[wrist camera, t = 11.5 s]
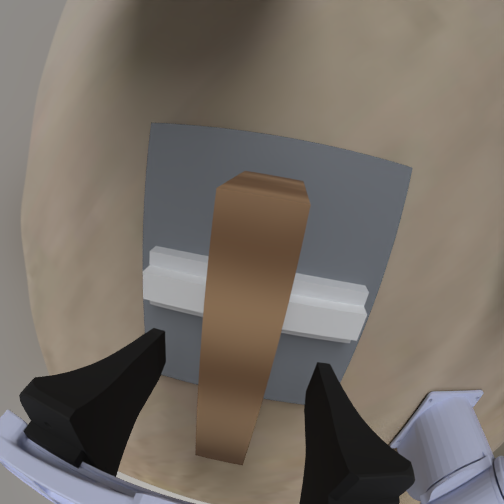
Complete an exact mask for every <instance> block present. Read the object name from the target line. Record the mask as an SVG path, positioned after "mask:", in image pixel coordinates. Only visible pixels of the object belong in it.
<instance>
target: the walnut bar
mask: <svg viewBox="0 0 504 504" xmlns="http://www.w3.org/2000/svg"><path fill="white" fill-rule="evenodd" d="M310 206H311V204H310V201H309V198H308V194H307V191H306V188H305V185H304V182H303V181H300V180H295V179H290V178H285V177H279V176H273V175H268V174H262V173H256V172H250V171H244V172H242V173H240V174H239V175H237V176H235V177H234V178H232V179H230V180H229V181H227V182H225V183H224V184H222V185H220V186H219V187H217V188H216V196H215V204H214V212H213V221H212V229H211V238H210V248H209V257H208V267H207V277H206V288H205V299H204V311H203V323H202V336H201V350H200V366H199V382H198V401H197V424H196V455H198V456H202V457H206V458H210V459H214V460H219V461H224V462H229V463H234V464H239V465H243V462H244V459H245V456H246V453H247V450H248V447H249V444H250V440H251V437H252V434H253V431H254V427H255V424H256V421H257V417H258V414H259V411H260V407H261V404H262V400H263V397H264V394H265V390H266V387H267V383H268V379H269V376H270V372H271V369H272V365H273V361H274V358H275V354H276V350H277V346H278V343H279V339H280V335H281V331H282V327H283V323H284V319H285V315H286V311H287V307H288V303H289V299H290V295H291V291H292V287H293V283H294V278H295V274H296V270H297V265H298V261H299V257H300V252H301V248H302V243H303V239H304V234H305V229H306V225H307V220H308V215H309V210H310Z"/></svg>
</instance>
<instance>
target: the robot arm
mask: <svg viewBox="0 0 504 504" xmlns="http://www.w3.org/2000/svg"><path fill="white" fill-rule="evenodd" d="M165 363H166V343H165V331H163V330H160V329H156V328H153V329H151V330H150V331H148V332H147V333H145V334H144V335H142V336H141V337H139V338H138V339H136V340H135V341H133V342H132V343H130V344H129V345H127V346H125V347H124V348H122V349H121V350H119V351H117V352H116V353H114V354H112V355H110V356H108V357H107V358H105V359H103V360H100V361H98V362H96V363H94V364H91V365H89V366H86V367H83V368H80V369H77V370H74V371H70V372H66V373H62V374H57V375H52V376H45V377H35V378H34V379H33V380H32V381H31V382H30V383H29V384H28V386H26V388H25V389H24V390H23V391H22V392H21V394H20V395H19V396H20V401H21V404H22V406H23V407H24V409H25V411H26V413H27V414H28V416H29V418H30V419H31V422H30V423H29V424H27V423H26V422H25V421H24V420H22V419H21V418H20V417H18V416H17V415H15V414H14V413H13V412H11V411H10V410H6V412H5V413H4V414H3V415H2V416H1V418H0V462H1V463H2V465H3V466H4V467H5V468H7V469H8V470H9V471H10V472H11V473H13V474H14V475H15V476H17V477H18V478H19V479H21V480H22V481H23V482H24V483H26V484H27V485H29V486H30V487H31V488H33V489H34V490H35V491H37V492H38V493H40V494H41V495H43V496H44V497H45V498H47V499H49V500H50V501H51V502H53V503H55V504H194V503H190V502H186V501H183V500H179V499H176V498H172V497H169V496H165V495H162V494H160V493H157V492H154V491H151V490H148V489H145V488H142V487H140V486H137V485H134V484H132V483H129V482H127V481H124V480H122V479H119V478H117V477H116V475H117V471H118V468H119V465H120V461H121V458H122V455H123V453H124V450H125V447H126V444H127V441H128V439H129V436H130V434H131V431H132V429H133V426H134V424H135V421H136V419H137V417H138V415H139V413H140V411H141V409H142V408H143V406H144V404H145V403H146V401H147V399H148V397H149V396H150V394H151V392H152V391H153V389H154V387H155V385H156V384H157V382H158V380H159V378H160V376H161V373H162V371H163V368H164V366H165ZM482 395H483V391H482V390H468V391H433V392H430V393H429V394H428V395H427V397H426V398H425V400H424V401H423V402H422V404H421V405H420V407H419V408H418V409H417V411H416V412H415V413H414V415H413V416H412V417H411V419H410V420H409V421H408V423H407V424H406V425H405V427H404V428H403V429H402V430H401V432H400V433H399V434H398V435H397V437H396V438H395V439H394V440H393V441H392V443H391V444H390V446H389V445H387V444H386V443H385V442H384V441H383V440H382V439H381V438H380V437H379V436H378V435H377V434H376V433H375V432H374V431H373V430H372V429H371V428H370V427H369V426H368V425H367V424H366V422H365V421H364V420H363V419H362V417H361V416H360V415H359V413H358V412H357V411H356V409H355V408H354V406H353V405H352V403H351V401H350V400H349V398H348V396H347V395H346V393H345V391H344V390H343V388H342V386H341V384H340V382H339V380H338V378H337V376H336V375H335V373H334V370H333V368H332V366H331V365H330V364H328V363H320V362H317V364H316V367H315V369H314V372H313V374H312V377H311V380H310V382H309V385H308V387H307V390H306V395H305V408H304V414H305V437H306V458H305V468H304V477H303V485H302V492H301V498H300V504H399V502H400V501H399V496H400V495H401V494H403V493H404V492H405V491H407V492H408V494H409V495H410V496H411V497H412V498H414V499H415V500H418V501H421V503H420V504H504V457H503V456H499V457H497V458H494V456H493V454H492V451H491V449H490V446H489V444H488V441H487V439H486V437H485V434H484V432H483V430H482V428H481V425H480V423H479V421H478V419H477V416H476V414H475V412H474V410H473V407H474V405H475V404H476V403H477V402H478V400H479V399H480V398H481V396H482ZM392 448H397V451H398V453H397V452H396V451H395V450H393V449H392Z"/></svg>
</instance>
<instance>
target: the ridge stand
mask: <svg viewBox="0 0 504 504" xmlns="http://www.w3.org/2000/svg"><path fill="white" fill-rule="evenodd" d="M244 171H250V172H256V173H262V174H268V175H273V176H279V177H285V178H290V179H295V180H300V181H303V182H304V185H305V188H306V191H307V194H308V198H309V201H310V204H311V206H310V210H309V215H308V220H307V225H306V229H305V234H304V239H303V243H302V248H301V252H300V257H299V261H298V265H297V270H296V274H295V278H294V283H293V287H292V291H291V295H290V299H289V303H288V307H287V311H286V315H285V319H284V323H283V327H282V331H281V335H280V339H279V343H278V346H277V350H276V354H275V358H274V361H273V365H272V369H271V372H270V376H269V379H268V383H267V387H266V390H265V394H264V397H263V399H269V400H276V401H282V402H289V403H296V404H304V405H305V395H306V390H307V387H308V385H309V382H310V380H311V377H312V374H313V372H314V369H315V367H316V364H317V362H320V363H328V364H330V365H331V366H332V368H333V370H334V373H335V375H336V376H337V378H338V380H339V382H341V380H342V378H343V376H344V373H345V371H346V369H347V367H348V365H349V362H350V360H351V358H352V356H353V353H354V351H355V349H356V346H357V344H358V342H359V339H360V337H361V335H362V332H363V330H364V327H365V325H366V322H367V320H368V317H369V314H370V312H371V309H372V306H373V304H374V301H375V298H376V296H377V293H378V290H379V287H380V284H381V281H382V278H383V275H384V272H385V269H386V266H387V263H388V260H389V257H390V254H391V250H392V247H393V244H394V240H395V237H396V233H397V230H398V226H399V223H400V219H401V215H402V211H403V207H404V203H405V199H406V195H407V191H408V186H409V182H410V177H411V173H412V167H408V166H405V165H402V164H398V163H395V162H392V161H388V160H384V159H381V158H377V157H373V156H370V155H366V154H362V153H358V152H354V151H350V150H346V149H341V148H337V147H333V146H328V145H323V144H319V143H314V142H309V141H304V140H298V139H293V138H287V137H282V136H276V135H269V134H263V133H256V132H249V131H242V130H234V129H226V128H217V127H207V126H196V125H183V124H168V123H151V129H150V138H149V147H148V158H147V169H146V182H145V198H144V219H143V303H144V325H145V333H147V332H148V331H150V330H151V329H153V328H156V329H160V330H163V331H165V343H166V363H165V366H164V368H163V371H162V373H161V375H164V376H168V377H171V378H175V379H178V380H182V381H186V382H190V383H193V384H197V385H198V382H199V366H200V350H201V336H202V323H203V311H204V299H205V288H206V277H207V267H208V257H209V248H210V238H211V229H212V221H213V212H214V204H215V196H216V188H217V187H219V186H220V185H222V184H224V183H225V182H227V181H229V180H230V179H232V178H234V177H235V176H237V175H239V174H240V173H242V172H244Z"/></svg>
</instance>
